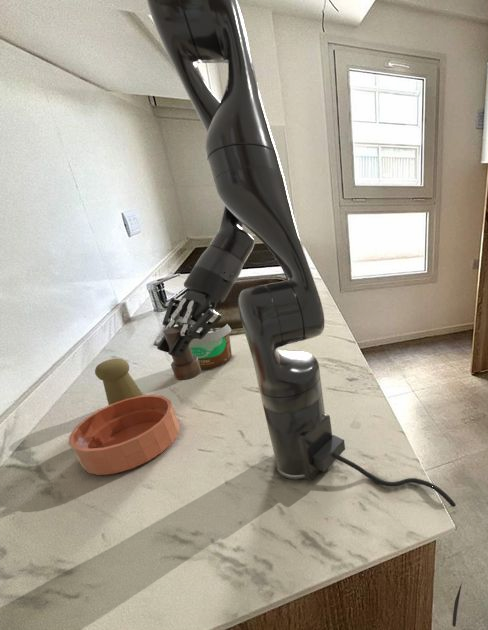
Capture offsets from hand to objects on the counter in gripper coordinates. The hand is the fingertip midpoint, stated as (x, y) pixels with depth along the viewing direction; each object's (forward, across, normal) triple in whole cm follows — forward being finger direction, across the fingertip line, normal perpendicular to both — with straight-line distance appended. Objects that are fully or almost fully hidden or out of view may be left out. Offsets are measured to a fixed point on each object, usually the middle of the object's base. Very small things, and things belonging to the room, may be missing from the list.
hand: (168, 353), depth 62 cm
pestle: (+3, 0, +6) cm, 6 cm away
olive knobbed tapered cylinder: (+14, -16, +8) cm, 23 cm away
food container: (+2, -16, +21) cm, 26 cm away
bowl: (+18, -2, +5) cm, 18 cm away
